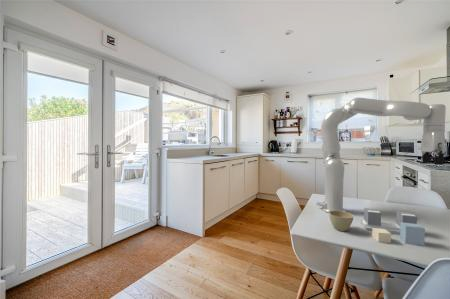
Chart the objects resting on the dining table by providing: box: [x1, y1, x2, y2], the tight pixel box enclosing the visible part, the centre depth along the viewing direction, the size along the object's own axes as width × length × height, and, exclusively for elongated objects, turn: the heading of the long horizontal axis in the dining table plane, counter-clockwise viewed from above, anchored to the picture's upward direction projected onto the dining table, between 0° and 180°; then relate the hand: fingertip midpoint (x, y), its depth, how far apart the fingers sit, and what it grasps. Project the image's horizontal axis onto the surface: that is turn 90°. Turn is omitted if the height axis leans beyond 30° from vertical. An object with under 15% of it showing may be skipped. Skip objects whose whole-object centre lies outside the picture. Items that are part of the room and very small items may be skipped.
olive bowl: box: [328, 211, 354, 232], centre depth 95 cm, size 10×10×7 cm
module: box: [399, 222, 426, 247], centre depth 82 cm, size 6×4×7 cm
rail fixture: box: [360, 207, 418, 235], centre depth 94 cm, size 20×9×8 cm, turn 70°
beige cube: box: [371, 228, 392, 244], centre depth 84 cm, size 4×4×4 cm
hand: (432, 163), depth 102 cm, fingers open, 9 cm apart
